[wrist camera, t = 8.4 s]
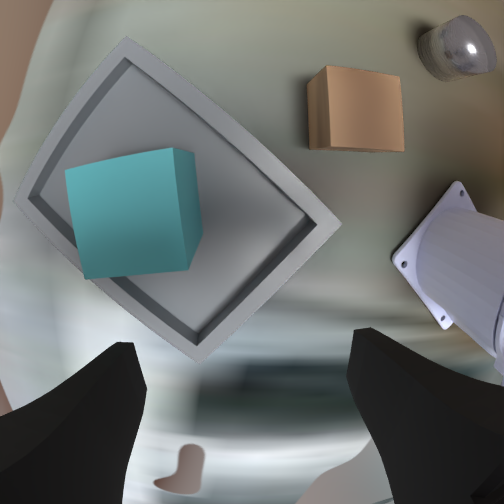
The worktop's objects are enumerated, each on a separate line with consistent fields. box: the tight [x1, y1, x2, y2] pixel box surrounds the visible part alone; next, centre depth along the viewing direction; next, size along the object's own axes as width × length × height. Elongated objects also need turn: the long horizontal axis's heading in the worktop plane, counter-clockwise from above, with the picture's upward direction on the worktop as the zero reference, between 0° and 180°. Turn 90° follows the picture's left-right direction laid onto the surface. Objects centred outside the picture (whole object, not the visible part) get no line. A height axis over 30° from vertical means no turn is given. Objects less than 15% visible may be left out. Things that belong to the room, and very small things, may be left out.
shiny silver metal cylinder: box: [417, 15, 497, 82], centre depth 12 cm, size 4×4×4 cm
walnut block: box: [307, 65, 404, 152], centre depth 14 cm, size 4×4×4 cm
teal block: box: [65, 148, 203, 279], centre depth 13 cm, size 4×4×6 cm
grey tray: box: [13, 36, 342, 364], centre depth 16 cm, size 16×12×2 cm
